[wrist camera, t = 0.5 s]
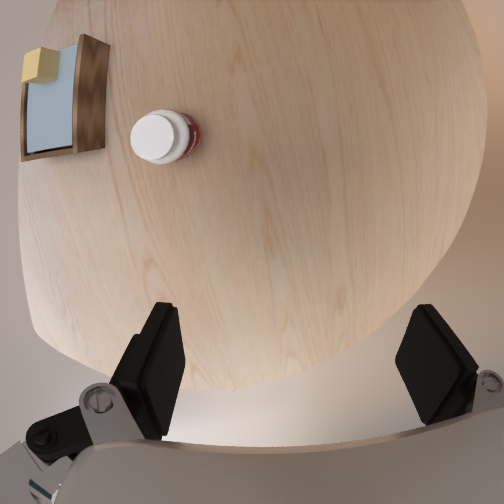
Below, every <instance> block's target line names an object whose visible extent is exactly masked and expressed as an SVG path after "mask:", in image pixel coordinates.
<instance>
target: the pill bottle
mask: <svg viewBox="0 0 504 504" xmlns="http://www.w3.org/2000/svg"><path fill="white" fill-rule="evenodd" d="M130 139H131V145H132V148H133V150H134V152H135V153H136V154H137V155H138V156H139V157H141V158H143V159H145V160H147V161H148V162H151V163H153V164H167V163H171V162H173V161H176V160H179V159H182V158H185V157H187V156H189V155H190V154H192V153H193V152H194V151H195V150H196V149H197V147H198V145H199V143H200V139H201V130H200V127H199V125H198V123H197V122H196V120H195V119H193V118H192V117H191V116H189V115H187V114H183V113H179V112H176V111H172V110H166V109H160V110H156V111H153V112H151V113H149V114H147V115H146V116H144V117H143V118H141V119H140V120H138V121H137V123H136V124H135V125H134V127H133V129H132V132H131V138H130Z"/></svg>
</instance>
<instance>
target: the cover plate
mask: <svg viewBox="0 0 504 504" xmlns="http://www.w3.org/2000/svg"><path fill="white" fill-rule="evenodd" d="M77 52H78V44H76V45H73V46H70V47H67V48H64V49H61V50H58V51H55V50H51V49H47V48H43V47H40V48H38V49H35V50H33V51H31V52H29V53H27V54H25V57H24V64H23V72H22V81H21V82H22V83H29V88H28V103H27V153H30V152H35V151H40V150H45V149H51V148H56V147H62V146H68V145H73V95H74V80H75V69H76V60H77Z"/></svg>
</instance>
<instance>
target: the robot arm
mask: <svg viewBox="0 0 504 504" xmlns="http://www.w3.org/2000/svg"><path fill="white" fill-rule="evenodd" d="M395 364H396V366H397V368H398V370H399V372H400V375H401V377H402V379H403V381H404V383H405V385H406V387H407V390H408V392H409V394H410V396H411V398H412V401H413V403H414V405H415V407H416V410H417V412H418V414H419V417H420V419H421V421H422V423H424V424H426V426H425V427H421V428H416V429H412V430H408V431H404V432H400V433H395V434H390V435H385V436H380V437H375V438H369V439H363V440H356V441H349V442H341V443H332V444H322V445H310V446H294V447H235V446H215V445H202V444H191V443H181V442H171V441H161V439H162V435H163V436H166V435H167V433H168V430H169V426H170V422H171V418H172V414H173V410H174V406H175V403H176V399H177V395H178V391H179V387H180V383H181V380H182V376H183V372H184V368H185V355H184V349H183V343H182V336H181V330H180V323H179V316H178V309H177V307H173V305H172V303H164V302H156V304H155V306H154V308H153V309H152V311H151V313H150V315H149V317H148V319H147V321H146V323H145V325H144V327H143V329H142V331H141V333H140V334H135V335H134V336H133V337H132V339H131V341H130V343H129V344H128V346H127V348H126V350H125V352H124V354H123V356H122V358H121V360H120V362H119V364H118V366H117V368H116V370H115V372H114V374H113V376H112V378H111V380H110V382H109V384H108V383H96V384H92V385H90V386H88V387H87V388H86V389H85V390H83V392H82V393H81V395H80V398H79V406H76V407H74V408H71V409H69V410H66V411H64V412H61V413H59V414H56V415H54V416H51V417H48V418H45V419H43V420H40V421H38V422H36V423H34V424H32V425H31V427H29V429H28V431H27V433H26V441H24V442H23V443H22V442H21V441H18V442H17V443H16V444H15V445H13V446H12V447H10V448H9V449H7V450H6V451H5V452H3V453H2V454H1V455H0V504H52V503H51V498H52V495H53V494H54V492H55V491H56V490H58V489H59V490H58V493H57V496H56V499H55V502H54V504H504V382H503V379H502V378H501V377H500V376H499V375H498V374H497V373H496V372H493V371H491V370H483V371H481V372H480V373H479V374H477V373H476V371H477V370H478V368H479V366H478V365H477V363H476V362H475V360H474V359H473V357H472V356H471V355H470V353H469V352H468V351H467V349H466V348H465V347H464V345H463V344H462V342H461V341H460V340H459V338H458V337H457V336H456V335H455V333H454V332H453V330H452V329H451V328H450V327H449V325H448V324H447V323H446V321H445V320H444V319H443V318H442V316H441V315H440V314H439V313H438V311H437V310H436V309H435V308H434V307H433V305H431V304H421V305H418V306H417V308H415V309H414V310H413V313H412V316H411V318H410V321H409V324H408V327H407V329H406V332H405V335H404V337H403V340H402V343H401V345H400V347H399V350H398V352H397V355H396V358H395ZM60 483H61V486H60V485H59V484H60Z"/></svg>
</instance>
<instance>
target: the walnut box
mask: <svg viewBox="0 0 504 504" xmlns="http://www.w3.org/2000/svg"><path fill="white" fill-rule="evenodd" d="M109 49H110V45H108V44H106V43H104V42H101V41H99V40H97V39H95V38H93V37H91V36H88V35H86V34H82V35H80V38H79V44H78V52H77V60H76V69H75V80H74V95H73V145H68V146H62V147H56V148H51V149H45V150H40V151H35V152H30V153H27V103H28V88H29V83H22V95H21V96H22V97H21V121H20V138H21V139H20V142H21V162H24V161H29V160H35V159H40V158H46V157H52V156H59V155H66V154H73V153H79V152H84V151H89V150H95V149H100V148H105V99H106V82H107V69H108V58H109Z"/></svg>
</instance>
